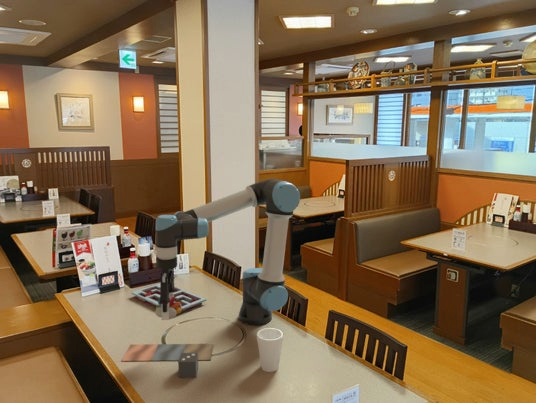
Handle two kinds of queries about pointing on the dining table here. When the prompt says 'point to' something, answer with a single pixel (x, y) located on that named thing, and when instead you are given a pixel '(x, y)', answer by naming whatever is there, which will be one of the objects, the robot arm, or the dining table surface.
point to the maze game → (180, 295)
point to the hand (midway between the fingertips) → (167, 313)
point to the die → (188, 365)
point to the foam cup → (269, 348)
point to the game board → (167, 352)
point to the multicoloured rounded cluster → (170, 308)
